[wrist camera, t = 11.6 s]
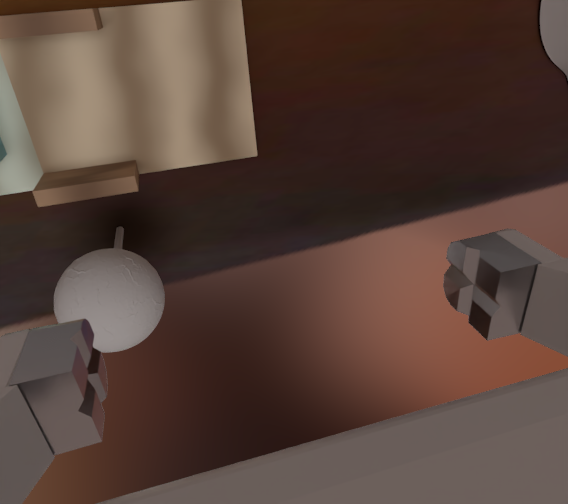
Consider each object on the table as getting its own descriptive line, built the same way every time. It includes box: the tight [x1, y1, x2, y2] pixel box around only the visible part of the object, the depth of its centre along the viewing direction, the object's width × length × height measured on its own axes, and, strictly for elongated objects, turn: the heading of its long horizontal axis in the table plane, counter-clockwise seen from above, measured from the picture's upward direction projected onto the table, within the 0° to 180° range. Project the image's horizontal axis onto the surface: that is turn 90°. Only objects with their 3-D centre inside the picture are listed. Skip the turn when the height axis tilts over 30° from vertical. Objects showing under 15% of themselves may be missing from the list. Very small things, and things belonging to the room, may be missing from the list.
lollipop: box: [54, 226, 165, 352], centre depth 34 cm, size 7×7×15 cm
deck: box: [0, 0, 257, 207], centre depth 31 cm, size 35×12×6 cm, turn 94°
